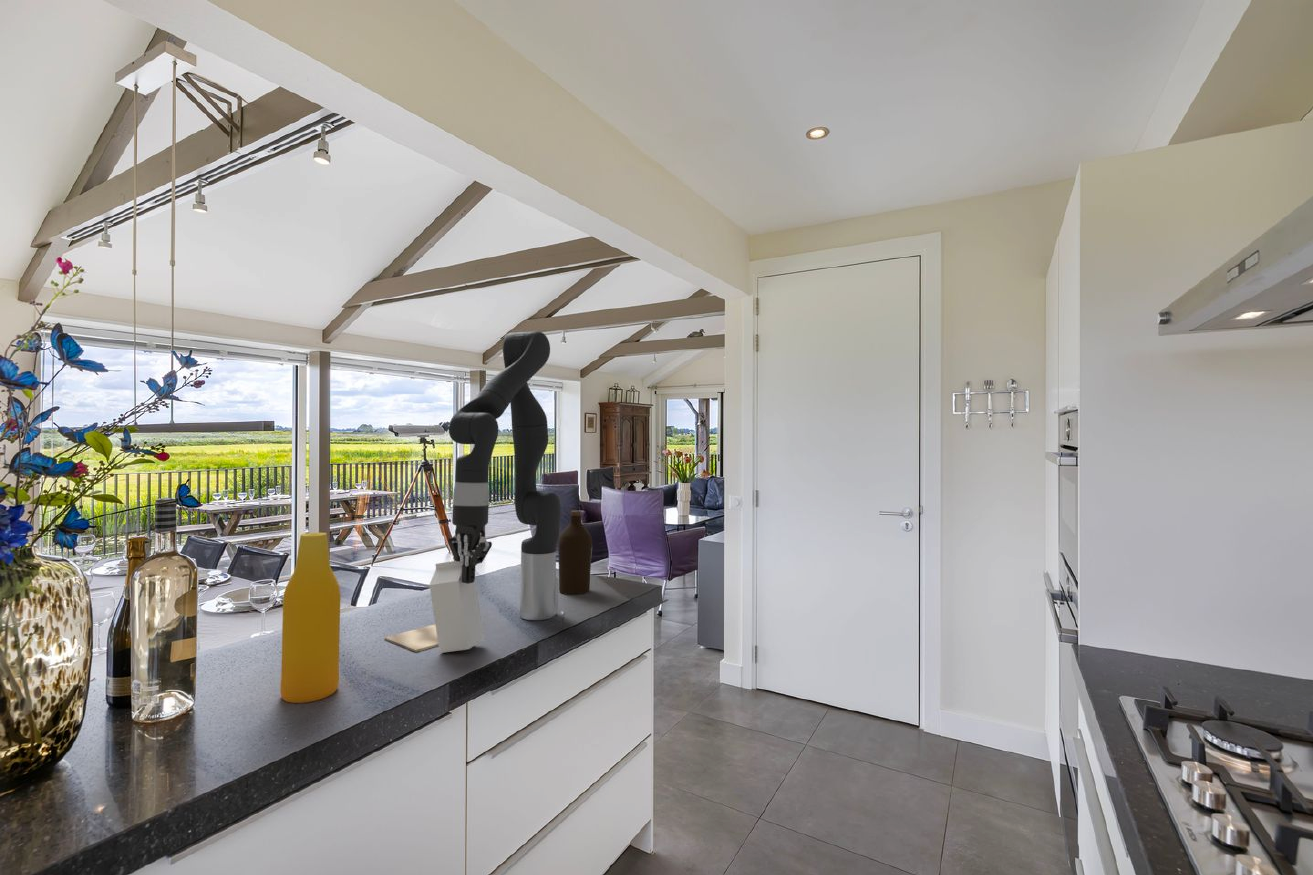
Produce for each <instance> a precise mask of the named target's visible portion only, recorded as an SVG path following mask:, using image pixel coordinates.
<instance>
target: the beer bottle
mask: <svg viewBox="0 0 1313 875" xmlns="http://www.w3.org/2000/svg"><path fill="white" fill-rule="evenodd" d="M327 534H328V533H326V532H309V533H308V532H307V533H302V534H300V538H299V543H298V548H297V556H296V563H295V569H294V571H293V573H292V575H291V577H290V578H289V580H288V582H287V584H286V586H285V588H284V593H283V598H282V625H281V626H282V629H281V632H282V633H281V634H282V635H281V638H282V639H281V667H280V668H281V670H280V671H281V673H280V675H281V676H280V691H279V692H280V696H281V698H282V700H283V701H285V702H287V703H293V704H304V703H311V702H317V701H319V700H322V699H325V698H328V697H330V696H331V695H333V694H334V693H336V692H337V690H338V687H339V683H340V633H341V631H340V629H341V627H340V626H341V601H342V600H341V597H342V596H341V594H342V593H341V588H340V584H339V581H338V579H337V578H336V575H335V573H334V571H333V569H332V568H331V563H330V562H331V561H330V553H329V543H328V542H329V541H328V535H327Z"/></svg>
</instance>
